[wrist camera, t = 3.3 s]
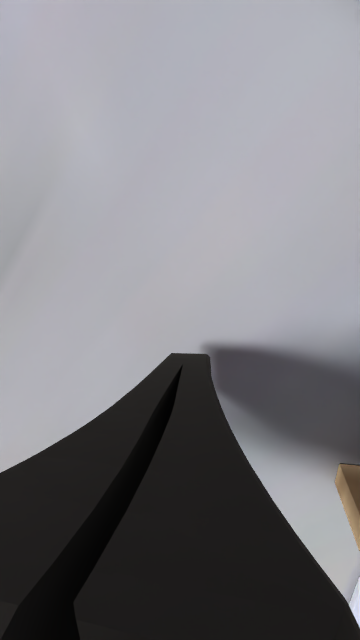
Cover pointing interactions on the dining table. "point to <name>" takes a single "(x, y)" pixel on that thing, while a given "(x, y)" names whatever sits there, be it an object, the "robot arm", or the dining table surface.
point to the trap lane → (350, 495)
